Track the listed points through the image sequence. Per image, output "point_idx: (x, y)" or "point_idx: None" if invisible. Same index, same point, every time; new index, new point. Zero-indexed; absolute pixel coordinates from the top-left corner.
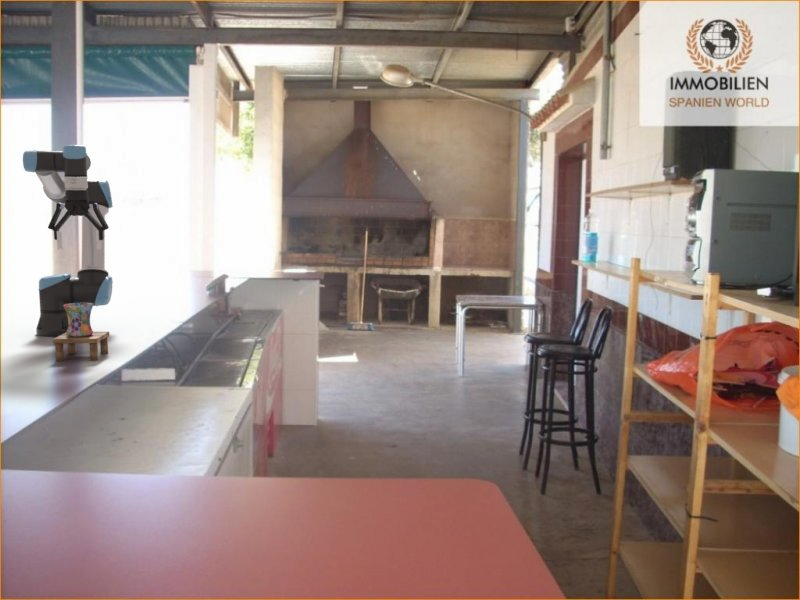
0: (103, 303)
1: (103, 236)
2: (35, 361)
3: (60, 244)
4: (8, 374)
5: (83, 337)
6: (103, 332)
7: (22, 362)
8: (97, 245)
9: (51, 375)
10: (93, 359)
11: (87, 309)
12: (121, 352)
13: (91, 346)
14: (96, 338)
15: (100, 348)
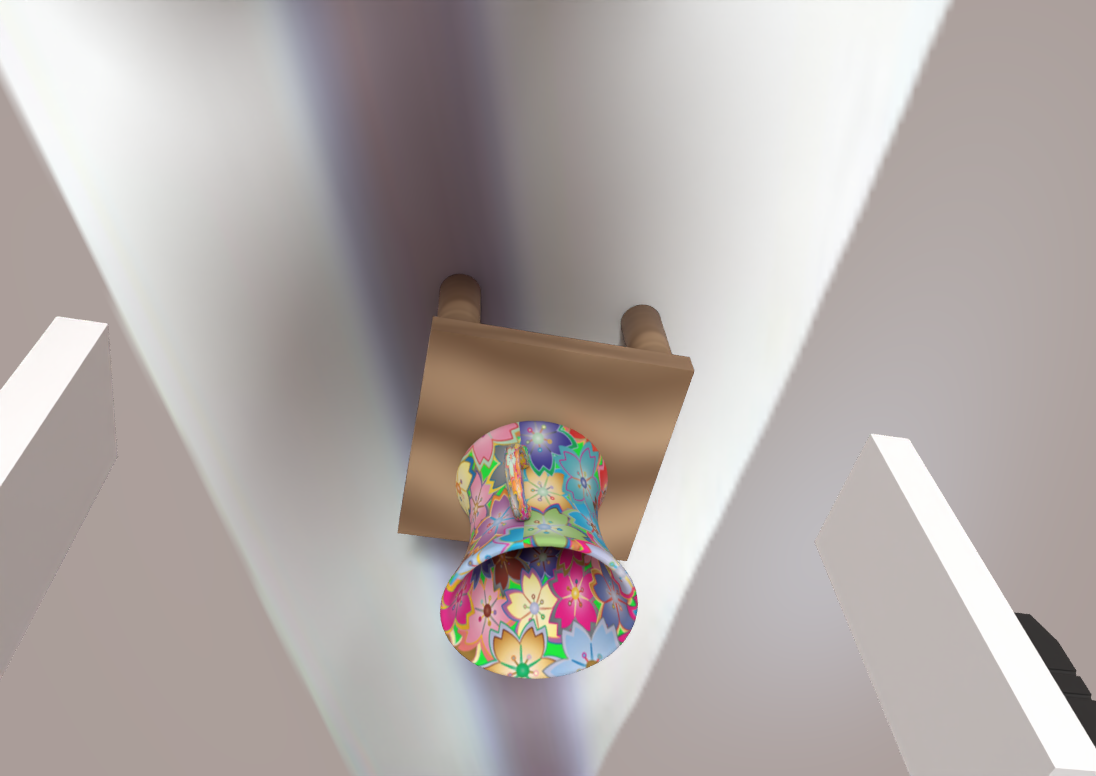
0: None
1: (1078, 686)
2: (316, 440)
3: (78, 483)
4: (288, 636)
5: None
6: (659, 394)
7: (259, 449)
8: (851, 604)
9: (460, 670)
10: None
11: (599, 631)
12: (732, 311)
13: None
14: (626, 552)
15: (625, 341)
